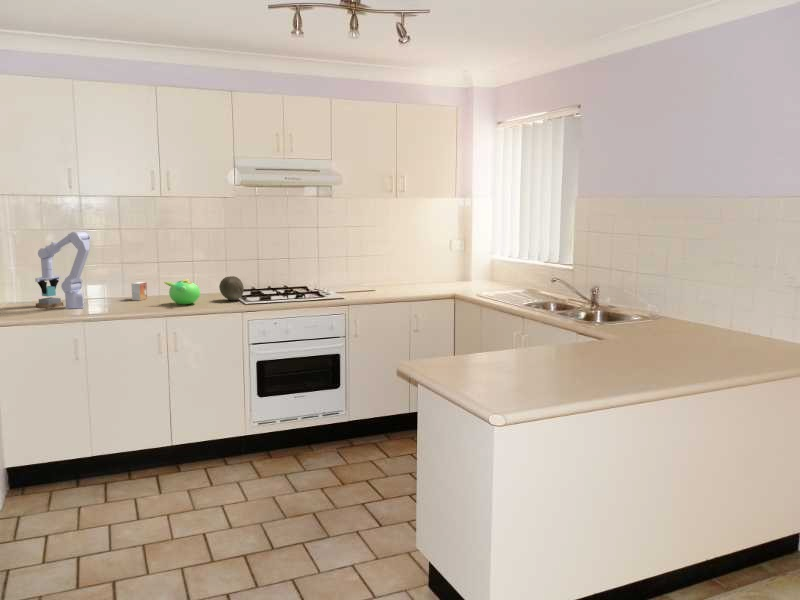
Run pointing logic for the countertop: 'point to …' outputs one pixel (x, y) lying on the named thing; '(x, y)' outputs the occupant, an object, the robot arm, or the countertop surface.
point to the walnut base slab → (49, 305)
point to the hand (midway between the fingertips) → (48, 293)
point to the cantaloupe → (231, 288)
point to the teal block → (49, 291)
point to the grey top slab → (49, 300)
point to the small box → (139, 291)
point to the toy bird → (183, 292)
